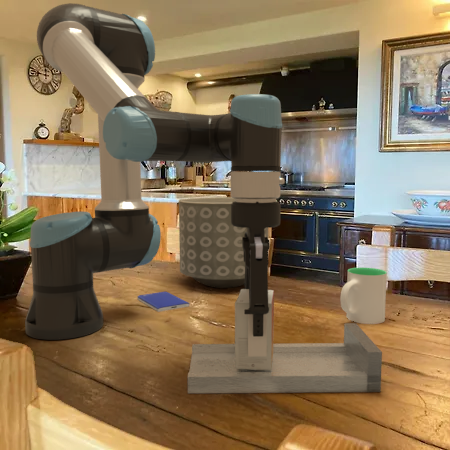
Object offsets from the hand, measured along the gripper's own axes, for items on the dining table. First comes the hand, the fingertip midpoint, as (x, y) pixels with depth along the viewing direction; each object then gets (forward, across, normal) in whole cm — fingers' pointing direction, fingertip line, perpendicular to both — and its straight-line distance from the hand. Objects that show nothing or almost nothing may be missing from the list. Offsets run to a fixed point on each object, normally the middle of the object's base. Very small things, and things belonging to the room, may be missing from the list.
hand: (255, 344), depth 75 cm
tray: (+5, 0, -4) cm, 6 cm away
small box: (+3, 0, 0) cm, 3 cm away
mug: (+5, +27, -25) cm, 37 cm away
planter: (+5, +61, +4) cm, 61 cm away
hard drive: (+6, +41, +20) cm, 46 cm away
